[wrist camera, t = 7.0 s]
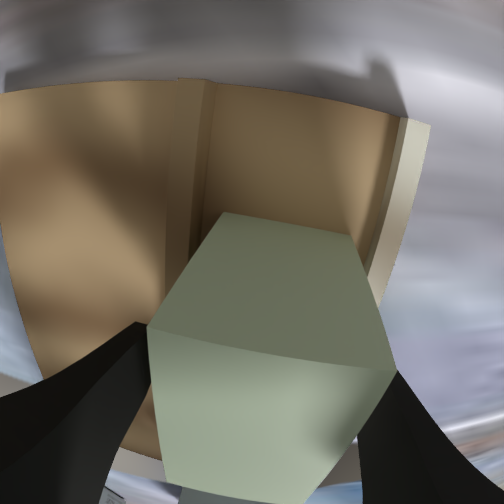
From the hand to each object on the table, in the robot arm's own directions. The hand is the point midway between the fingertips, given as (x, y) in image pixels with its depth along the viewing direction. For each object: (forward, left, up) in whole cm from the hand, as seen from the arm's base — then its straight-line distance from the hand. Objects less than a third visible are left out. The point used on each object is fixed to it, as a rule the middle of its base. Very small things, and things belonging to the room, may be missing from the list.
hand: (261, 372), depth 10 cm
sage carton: (0, 0, -3) cm, 3 cm away
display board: (-4, +5, -5) cm, 8 cm away
